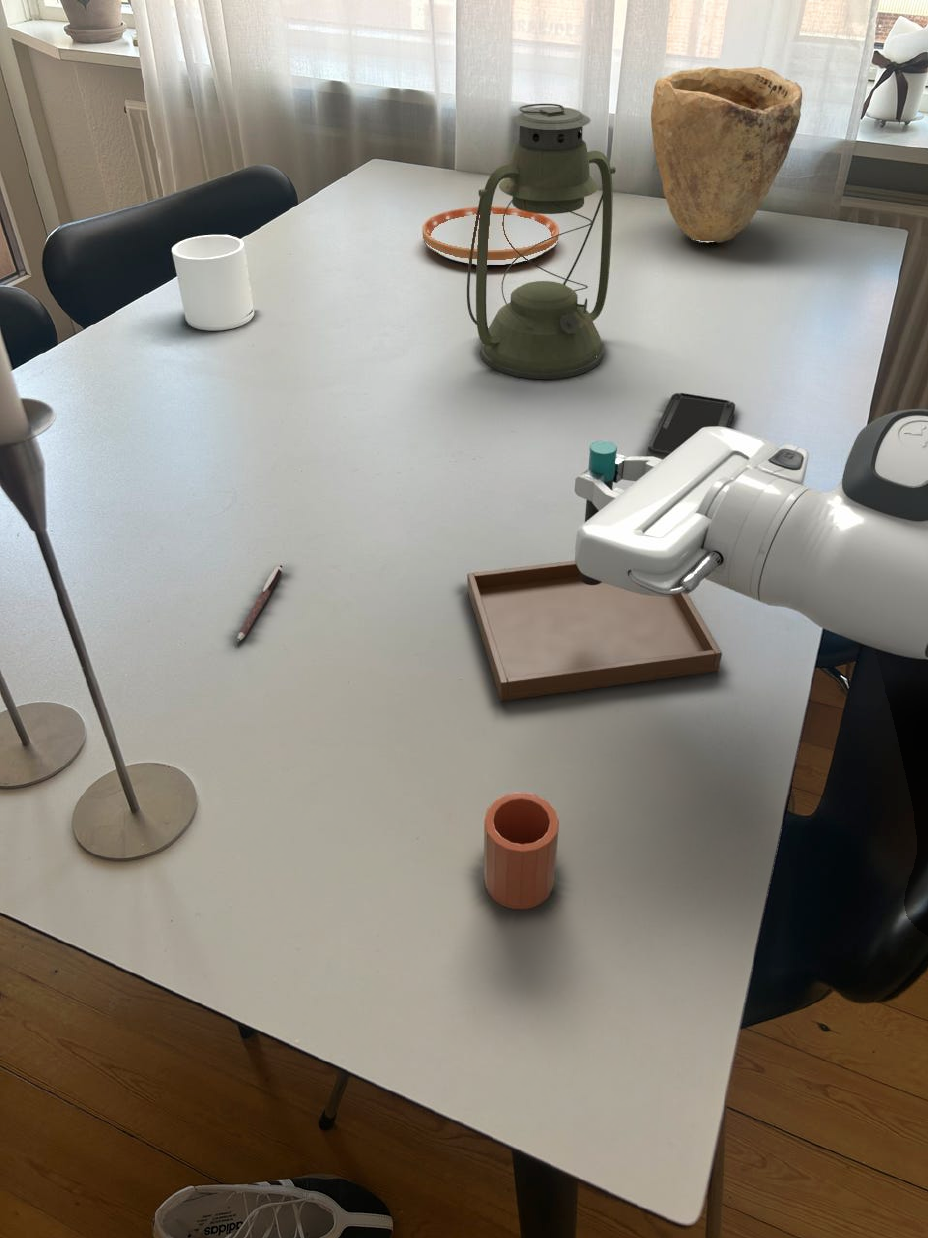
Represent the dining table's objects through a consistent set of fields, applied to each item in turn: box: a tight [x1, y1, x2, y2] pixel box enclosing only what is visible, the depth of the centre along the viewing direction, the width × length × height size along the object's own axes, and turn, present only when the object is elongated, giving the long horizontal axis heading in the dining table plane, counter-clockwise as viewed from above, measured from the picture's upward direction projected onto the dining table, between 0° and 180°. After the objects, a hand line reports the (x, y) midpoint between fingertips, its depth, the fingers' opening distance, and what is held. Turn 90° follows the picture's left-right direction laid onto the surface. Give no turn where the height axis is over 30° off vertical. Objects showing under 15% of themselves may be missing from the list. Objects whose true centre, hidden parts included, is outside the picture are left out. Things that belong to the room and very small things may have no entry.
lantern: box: [466, 103, 617, 380], centre depth 123 cm, size 21×18×30 cm
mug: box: [171, 234, 255, 332], centre depth 140 cm, size 13×10×10 cm
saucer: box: [421, 205, 560, 260], centre depth 163 cm, size 23×23×4 cm
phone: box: [646, 392, 736, 460], centre depth 114 cm, size 8×1×15 cm
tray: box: [466, 560, 723, 702], centre depth 87 cm, size 19×15×2 cm
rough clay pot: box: [650, 66, 803, 244], centre depth 157 cm, size 22×22×25 cm
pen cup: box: [483, 791, 560, 910], centre depth 65 cm, size 5×5×6 cm
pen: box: [236, 564, 283, 642], centre depth 90 cm, size 11×1×1 cm, turn 168°
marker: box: [580, 440, 618, 585], centre depth 80 cm, size 2×2×13 cm
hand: (591, 471), depth 78 cm, fingers closed on marker, 2 cm apart
